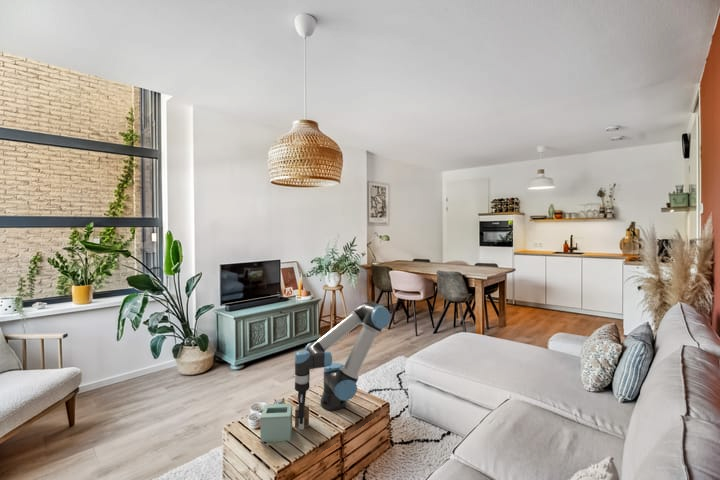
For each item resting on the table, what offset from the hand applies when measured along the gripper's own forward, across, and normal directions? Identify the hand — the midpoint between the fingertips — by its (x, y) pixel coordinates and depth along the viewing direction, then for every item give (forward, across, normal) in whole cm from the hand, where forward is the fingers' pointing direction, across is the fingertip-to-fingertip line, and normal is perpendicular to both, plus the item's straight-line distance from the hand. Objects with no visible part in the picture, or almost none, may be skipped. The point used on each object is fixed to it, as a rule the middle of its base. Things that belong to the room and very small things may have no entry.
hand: (301, 424), depth 181 cm
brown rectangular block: (0, 0, 0) cm, 0 cm away
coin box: (0, +6, -12) cm, 13 cm away
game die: (+1, -12, -13) cm, 18 cm away
